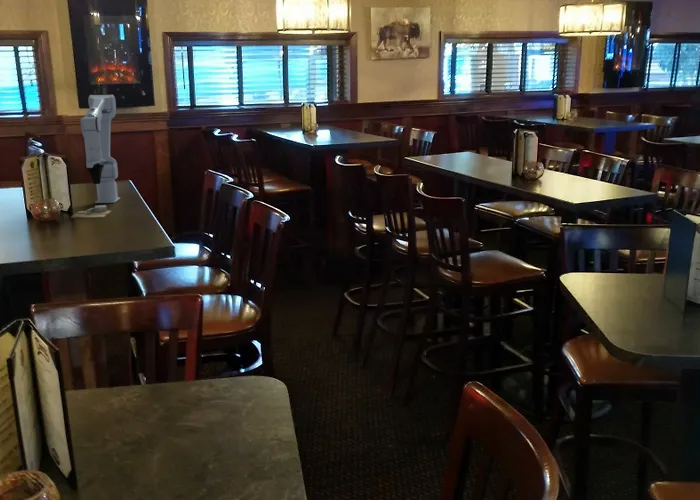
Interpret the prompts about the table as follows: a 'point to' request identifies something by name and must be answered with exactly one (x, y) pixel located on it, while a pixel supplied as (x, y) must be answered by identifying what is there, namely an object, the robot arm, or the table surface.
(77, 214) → the cork mat
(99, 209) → the lighter
